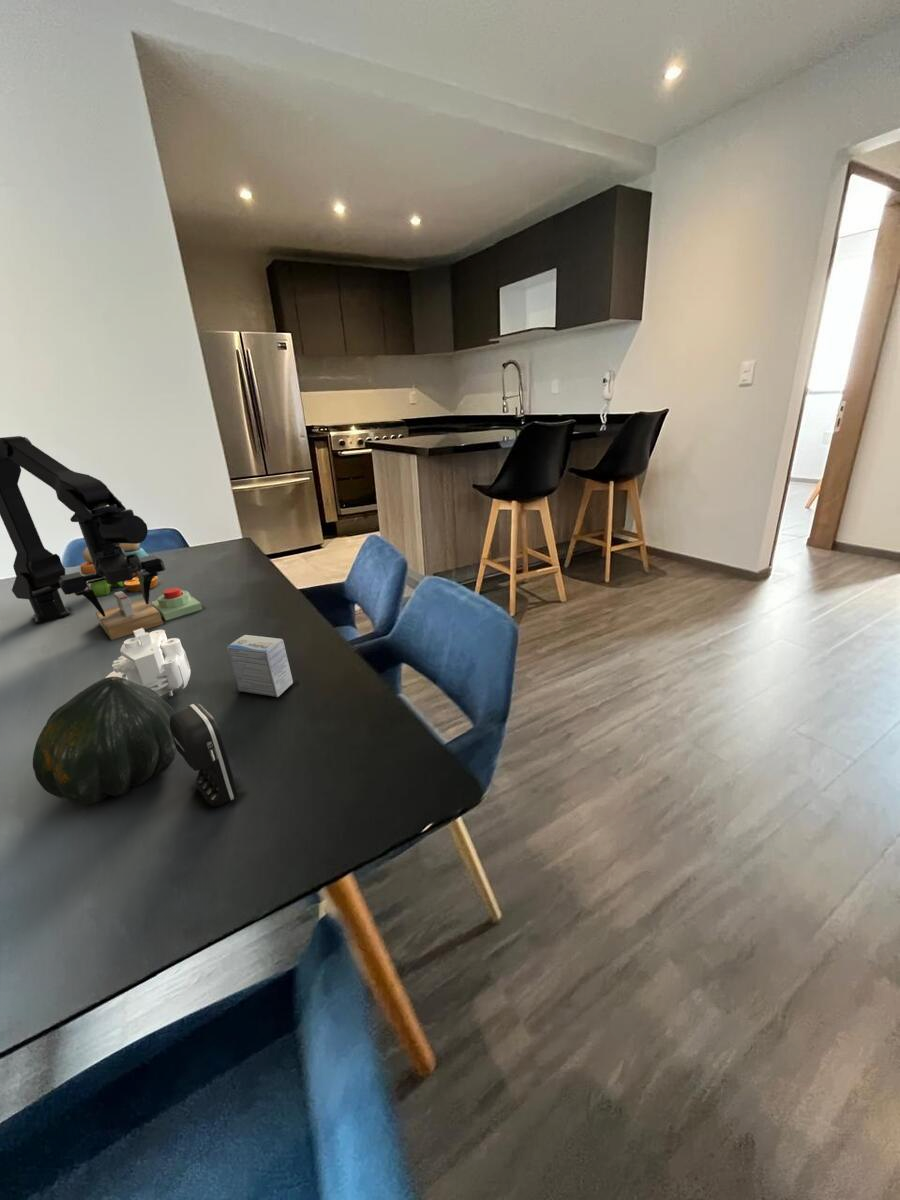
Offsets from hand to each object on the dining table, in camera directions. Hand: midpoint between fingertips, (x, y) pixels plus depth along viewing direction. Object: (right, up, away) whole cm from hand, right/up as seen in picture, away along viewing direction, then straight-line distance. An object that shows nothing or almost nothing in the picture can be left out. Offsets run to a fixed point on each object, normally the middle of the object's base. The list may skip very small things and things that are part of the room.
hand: (126, 609), depth 109 cm
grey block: (0, 0, 0) cm, 1 cm away
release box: (+7, 0, +8) cm, 11 cm away
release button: (+7, +3, +7) cm, 10 cm away
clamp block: (0, -3, +1) cm, 4 cm away
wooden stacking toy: (-16, +7, +28) cm, 33 cm away
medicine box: (+41, -13, -27) cm, 51 cm away
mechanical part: (+24, -14, -28) cm, 40 cm away
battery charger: (+43, -22, -49) cm, 68 cm away
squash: (+30, -21, -45) cm, 58 cm away
